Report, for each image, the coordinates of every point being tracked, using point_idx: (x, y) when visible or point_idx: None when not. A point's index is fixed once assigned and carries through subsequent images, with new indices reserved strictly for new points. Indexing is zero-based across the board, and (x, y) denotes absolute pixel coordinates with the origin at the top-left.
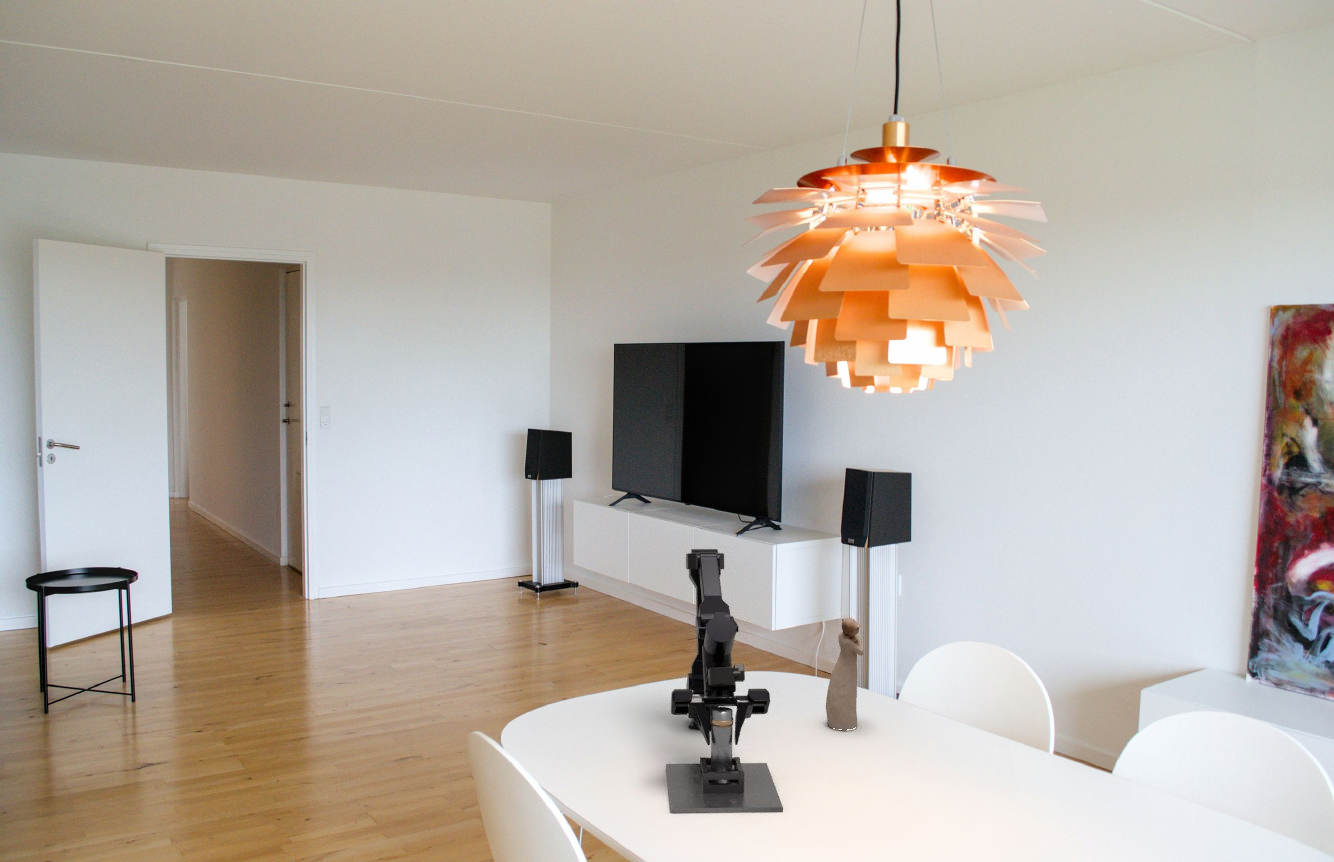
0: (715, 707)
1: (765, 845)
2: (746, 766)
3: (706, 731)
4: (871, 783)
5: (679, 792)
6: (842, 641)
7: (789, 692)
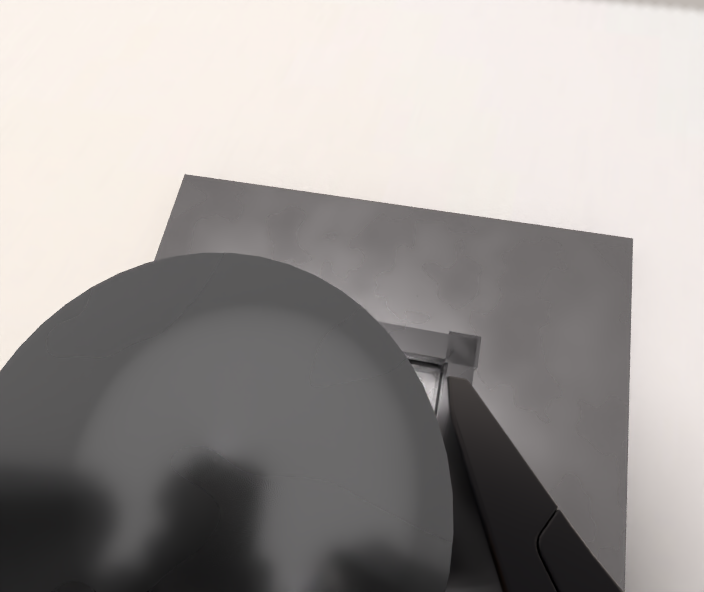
0: None
1: (341, 3)
2: None
3: (489, 440)
4: None
5: (575, 389)
6: None
7: None
